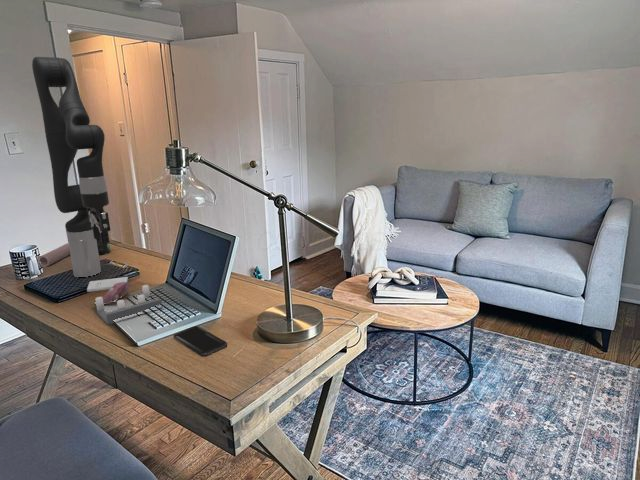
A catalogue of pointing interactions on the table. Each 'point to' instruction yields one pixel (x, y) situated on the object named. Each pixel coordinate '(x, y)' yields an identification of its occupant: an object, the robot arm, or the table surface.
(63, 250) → the pink brown cylinder
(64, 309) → the table surface
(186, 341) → the phone
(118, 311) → the dock
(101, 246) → the supplement bottle
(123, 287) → the purple rounded block
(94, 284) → the external hard drive
